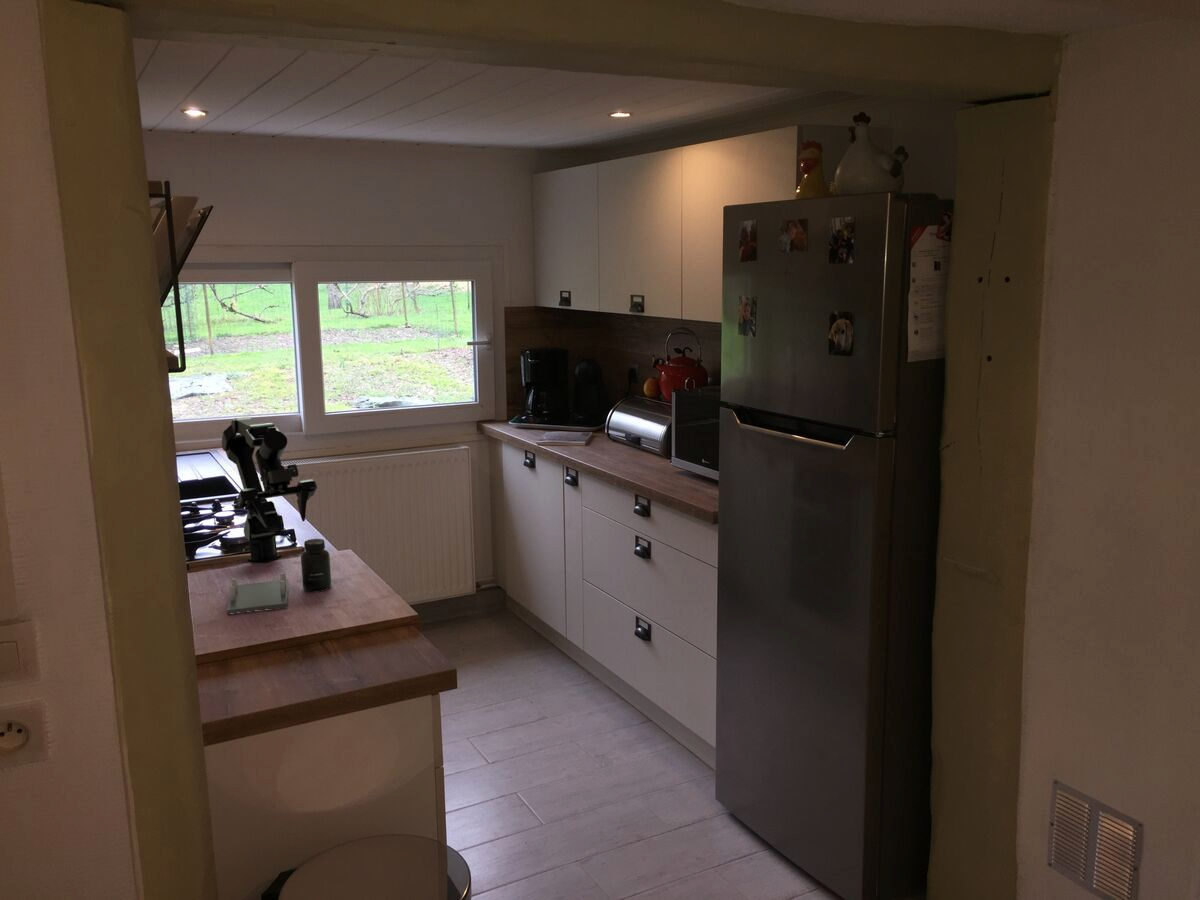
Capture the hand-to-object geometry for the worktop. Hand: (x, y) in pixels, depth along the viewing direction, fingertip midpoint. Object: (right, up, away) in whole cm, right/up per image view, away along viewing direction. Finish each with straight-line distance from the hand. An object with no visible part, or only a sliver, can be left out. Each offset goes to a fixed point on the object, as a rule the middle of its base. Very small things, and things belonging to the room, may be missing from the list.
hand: (285, 523), depth 242 cm
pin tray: (-3, -17, -10) cm, 20 cm away
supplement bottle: (+9, -16, -3) cm, 18 cm away
